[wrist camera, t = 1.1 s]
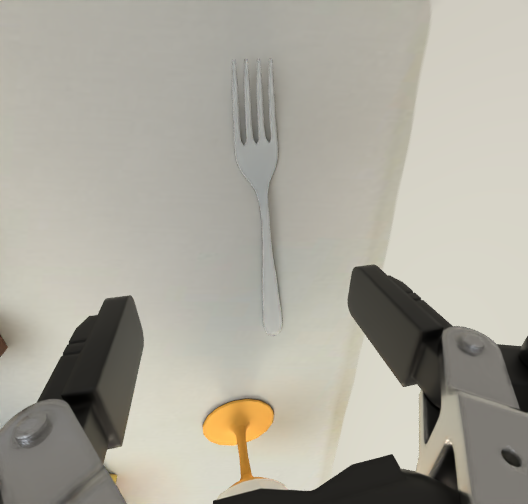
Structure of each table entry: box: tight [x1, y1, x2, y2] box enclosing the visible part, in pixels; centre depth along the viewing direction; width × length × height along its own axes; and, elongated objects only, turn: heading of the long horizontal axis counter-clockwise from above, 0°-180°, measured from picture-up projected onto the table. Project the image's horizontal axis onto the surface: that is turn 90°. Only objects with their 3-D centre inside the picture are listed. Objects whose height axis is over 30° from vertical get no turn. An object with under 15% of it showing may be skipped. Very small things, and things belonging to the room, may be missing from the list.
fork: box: [232, 59, 282, 336], centre depth 23 cm, size 3×24×2 cm, turn 4°
